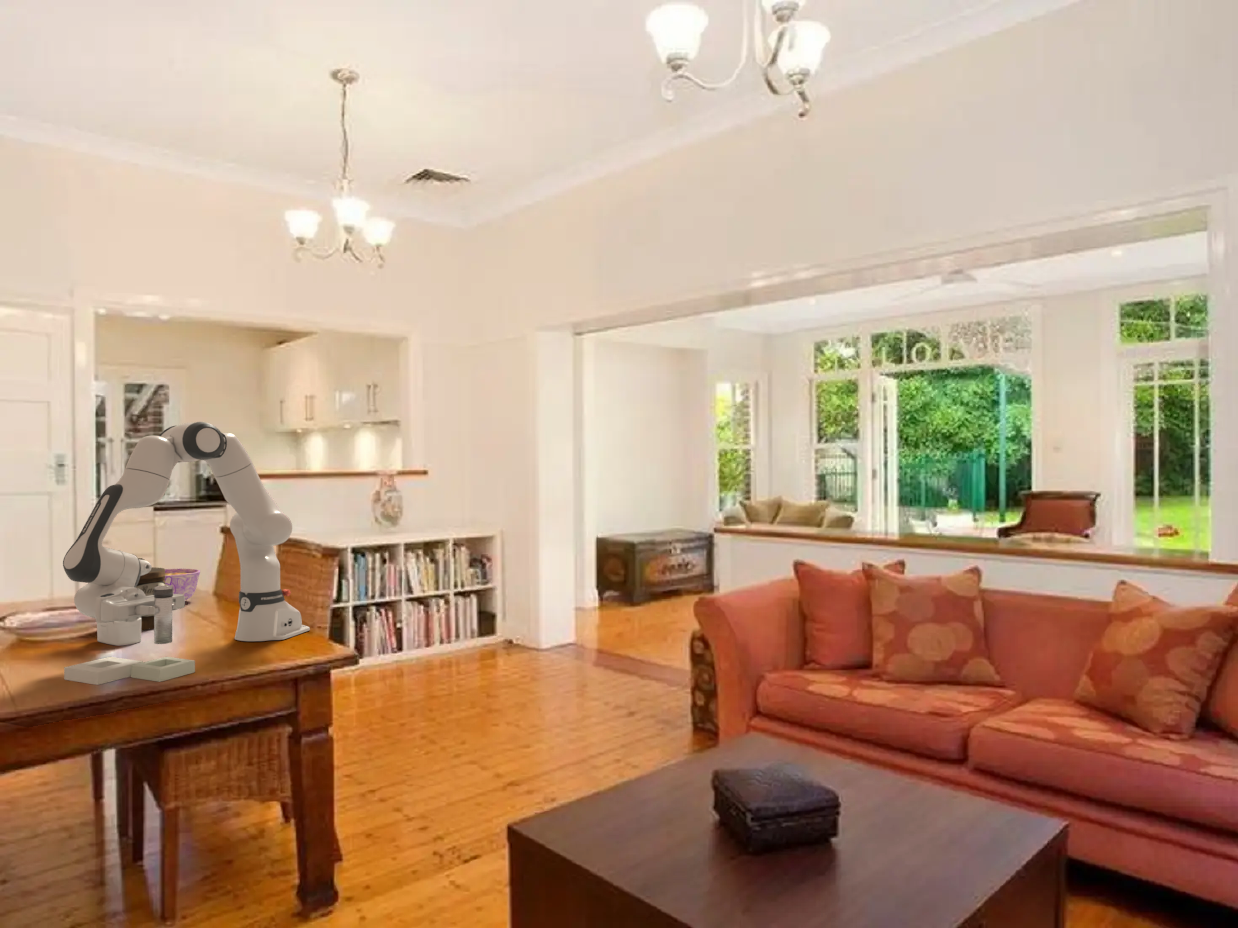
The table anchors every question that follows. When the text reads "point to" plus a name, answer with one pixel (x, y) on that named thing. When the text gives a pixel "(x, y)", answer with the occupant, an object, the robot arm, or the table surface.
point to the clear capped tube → (163, 614)
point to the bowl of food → (182, 581)
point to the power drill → (122, 624)
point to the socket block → (100, 670)
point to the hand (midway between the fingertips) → (165, 608)
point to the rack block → (162, 669)
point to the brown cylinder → (150, 591)
